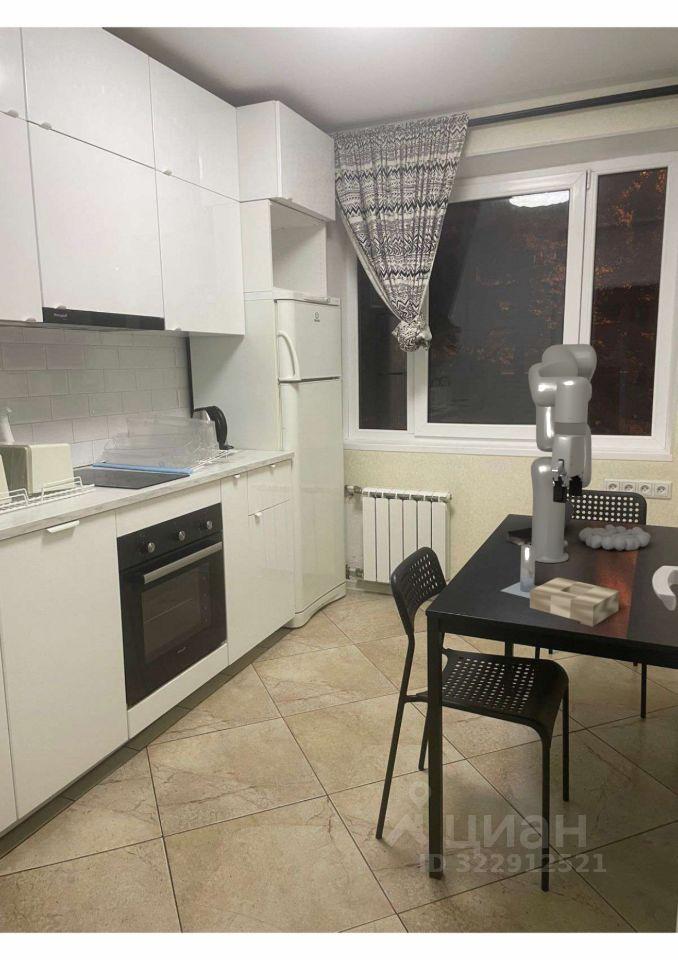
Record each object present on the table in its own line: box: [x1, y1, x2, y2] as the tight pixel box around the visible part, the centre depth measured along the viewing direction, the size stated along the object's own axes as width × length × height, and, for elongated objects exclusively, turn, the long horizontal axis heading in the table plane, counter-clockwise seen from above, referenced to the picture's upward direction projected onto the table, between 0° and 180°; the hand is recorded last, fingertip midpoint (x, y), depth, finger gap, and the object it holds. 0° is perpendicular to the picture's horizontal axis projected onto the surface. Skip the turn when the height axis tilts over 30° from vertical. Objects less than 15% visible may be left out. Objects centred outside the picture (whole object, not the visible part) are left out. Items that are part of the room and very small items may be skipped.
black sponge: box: [506, 527, 532, 547], centre depth 229 cm, size 16×8×4 cm, turn 116°
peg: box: [519, 544, 536, 593], centre depth 177 cm, size 4×4×12 cm
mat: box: [500, 581, 539, 599], centre depth 178 cm, size 10×10×1 cm
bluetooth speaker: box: [564, 498, 575, 529], centre depth 244 cm, size 23×9×10 cm, turn 154°
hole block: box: [529, 576, 620, 627], centre depth 164 cm, size 14×16×5 cm
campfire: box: [578, 524, 651, 552], centre depth 222 cm, size 22×21×6 cm
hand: (567, 499), depth 165 cm, fingers open, 9 cm apart
